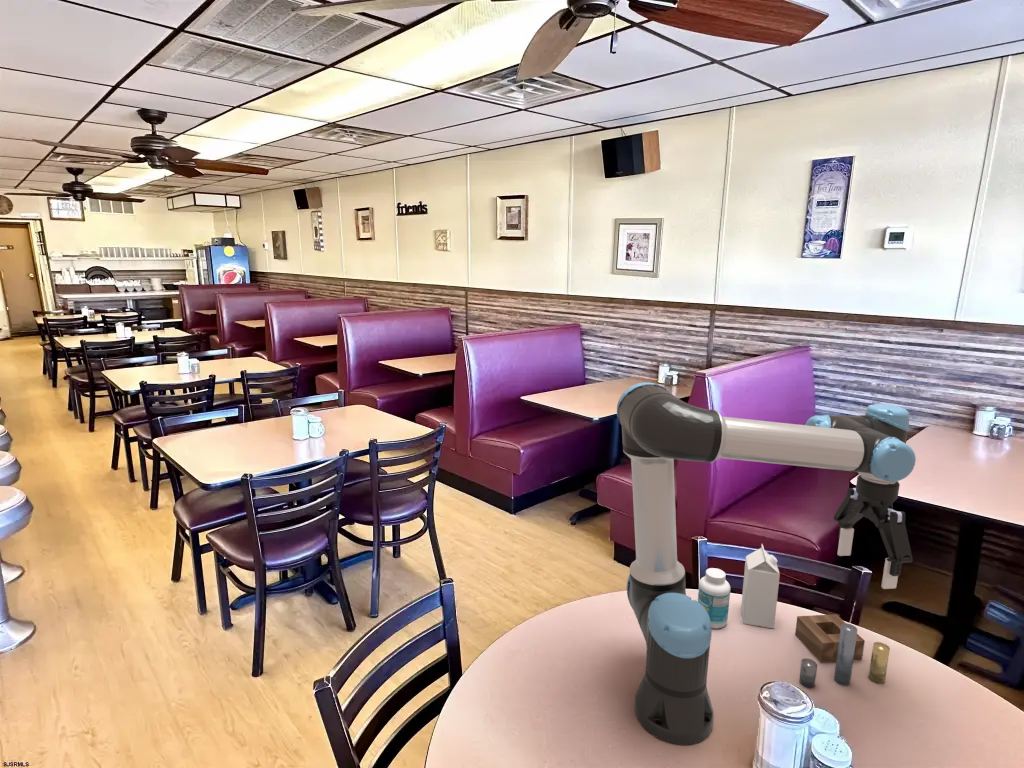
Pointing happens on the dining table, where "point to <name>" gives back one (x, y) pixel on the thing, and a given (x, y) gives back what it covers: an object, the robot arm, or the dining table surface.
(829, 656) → the walnut hole block
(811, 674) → the short gunmetal pin
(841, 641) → the long steel pin
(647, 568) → the robot arm
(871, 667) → the medium brass pin
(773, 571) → the milk carton
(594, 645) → the dining table surface
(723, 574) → the pill bottle
